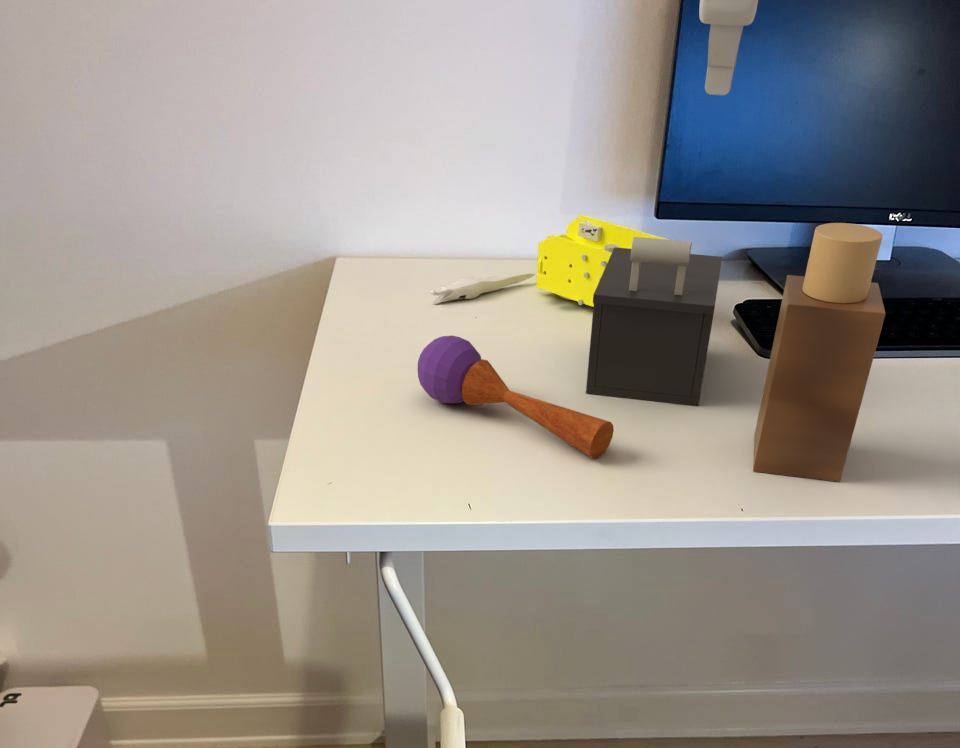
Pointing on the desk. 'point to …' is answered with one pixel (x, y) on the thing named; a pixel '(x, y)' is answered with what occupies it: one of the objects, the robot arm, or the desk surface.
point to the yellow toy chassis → (580, 257)
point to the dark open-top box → (648, 353)
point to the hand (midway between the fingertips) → (720, 82)
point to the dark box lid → (660, 277)
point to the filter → (841, 262)
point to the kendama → (502, 394)
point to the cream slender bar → (476, 286)
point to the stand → (815, 382)
